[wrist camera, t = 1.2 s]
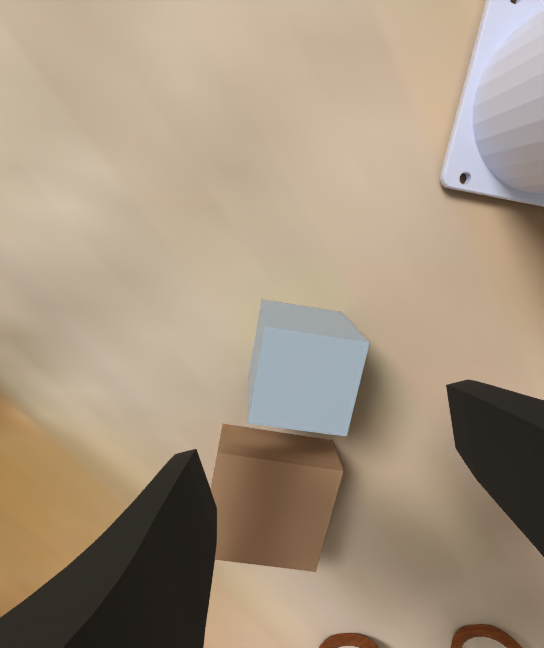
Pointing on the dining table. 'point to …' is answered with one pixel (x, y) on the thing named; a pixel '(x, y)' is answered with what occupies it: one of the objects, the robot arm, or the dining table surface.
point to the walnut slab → (273, 497)
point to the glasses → (461, 636)
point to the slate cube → (305, 369)
